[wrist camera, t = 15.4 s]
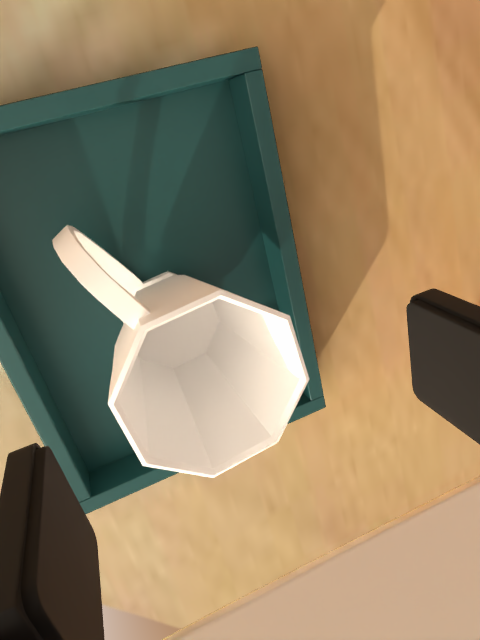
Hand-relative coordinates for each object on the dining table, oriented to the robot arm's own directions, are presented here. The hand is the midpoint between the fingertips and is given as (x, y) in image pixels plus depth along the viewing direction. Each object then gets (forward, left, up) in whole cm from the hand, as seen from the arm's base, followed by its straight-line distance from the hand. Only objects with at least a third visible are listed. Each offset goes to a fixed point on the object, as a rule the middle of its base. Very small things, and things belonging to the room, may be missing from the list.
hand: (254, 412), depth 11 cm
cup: (0, -1, -12) cm, 12 cm away
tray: (0, 0, -13) cm, 13 cm away
